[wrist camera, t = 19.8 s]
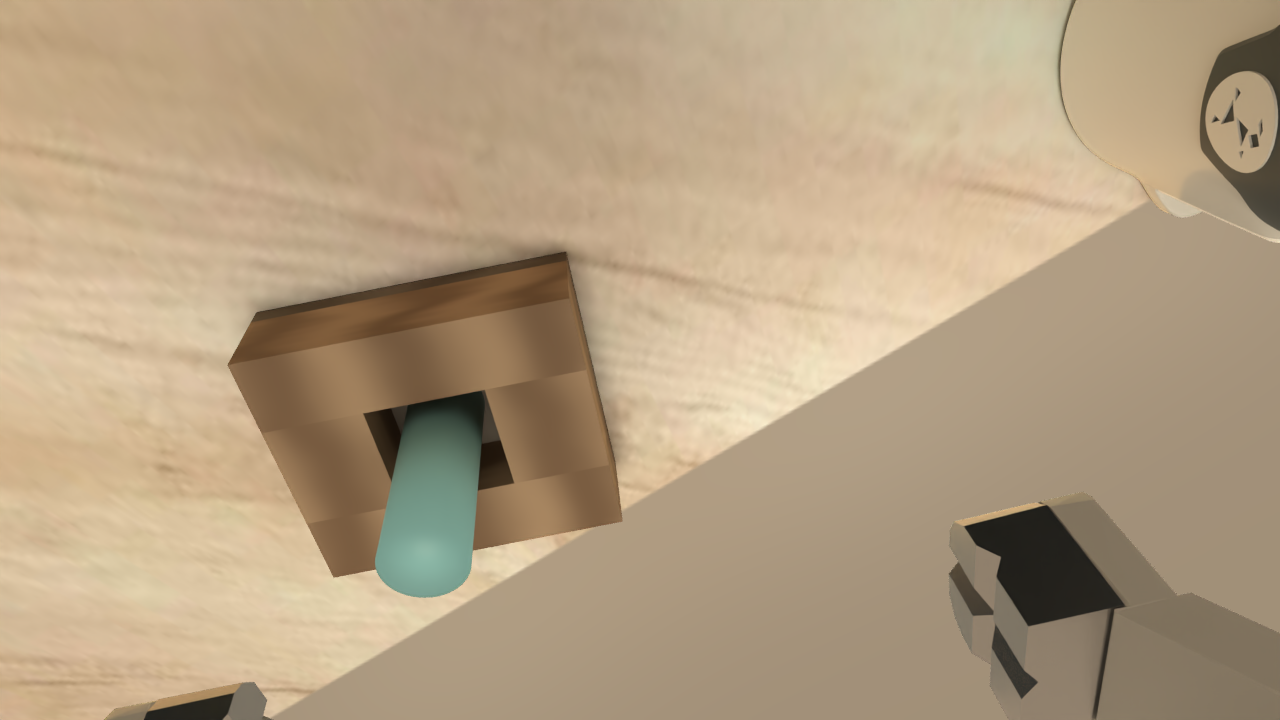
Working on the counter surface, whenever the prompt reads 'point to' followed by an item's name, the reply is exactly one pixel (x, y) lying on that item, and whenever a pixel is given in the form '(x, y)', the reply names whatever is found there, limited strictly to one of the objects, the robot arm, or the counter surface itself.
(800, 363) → the counter surface
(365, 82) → the counter surface
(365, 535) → the walnut holder
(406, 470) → the teal pin
